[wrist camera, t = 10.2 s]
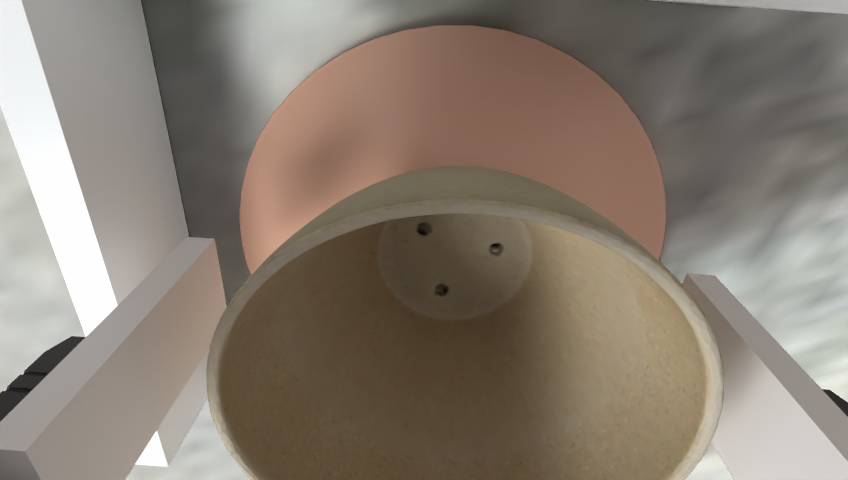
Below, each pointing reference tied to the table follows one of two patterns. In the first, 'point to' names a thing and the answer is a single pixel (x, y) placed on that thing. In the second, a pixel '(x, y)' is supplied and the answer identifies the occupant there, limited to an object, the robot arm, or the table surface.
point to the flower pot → (464, 343)
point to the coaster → (450, 131)
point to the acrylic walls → (119, 155)
